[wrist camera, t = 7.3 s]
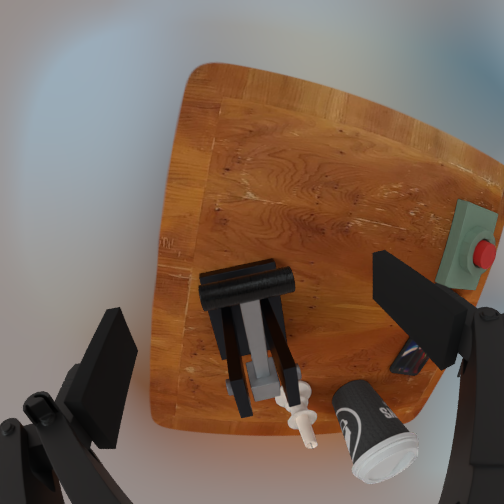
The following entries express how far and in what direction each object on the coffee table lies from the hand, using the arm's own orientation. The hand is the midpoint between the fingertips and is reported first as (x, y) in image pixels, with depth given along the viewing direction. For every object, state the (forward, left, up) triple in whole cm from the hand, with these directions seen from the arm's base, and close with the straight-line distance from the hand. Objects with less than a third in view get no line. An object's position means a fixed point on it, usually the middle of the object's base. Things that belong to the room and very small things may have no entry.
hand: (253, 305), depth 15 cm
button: (-2, +33, -14) cm, 36 cm away
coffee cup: (+24, +22, -18) cm, 37 cm away
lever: (+5, +2, -5) cm, 7 cm away
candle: (+23, +12, -18) cm, 31 cm away
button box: (-2, +33, -18) cm, 38 cm away
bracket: (+10, +3, -18) cm, 20 cm away
